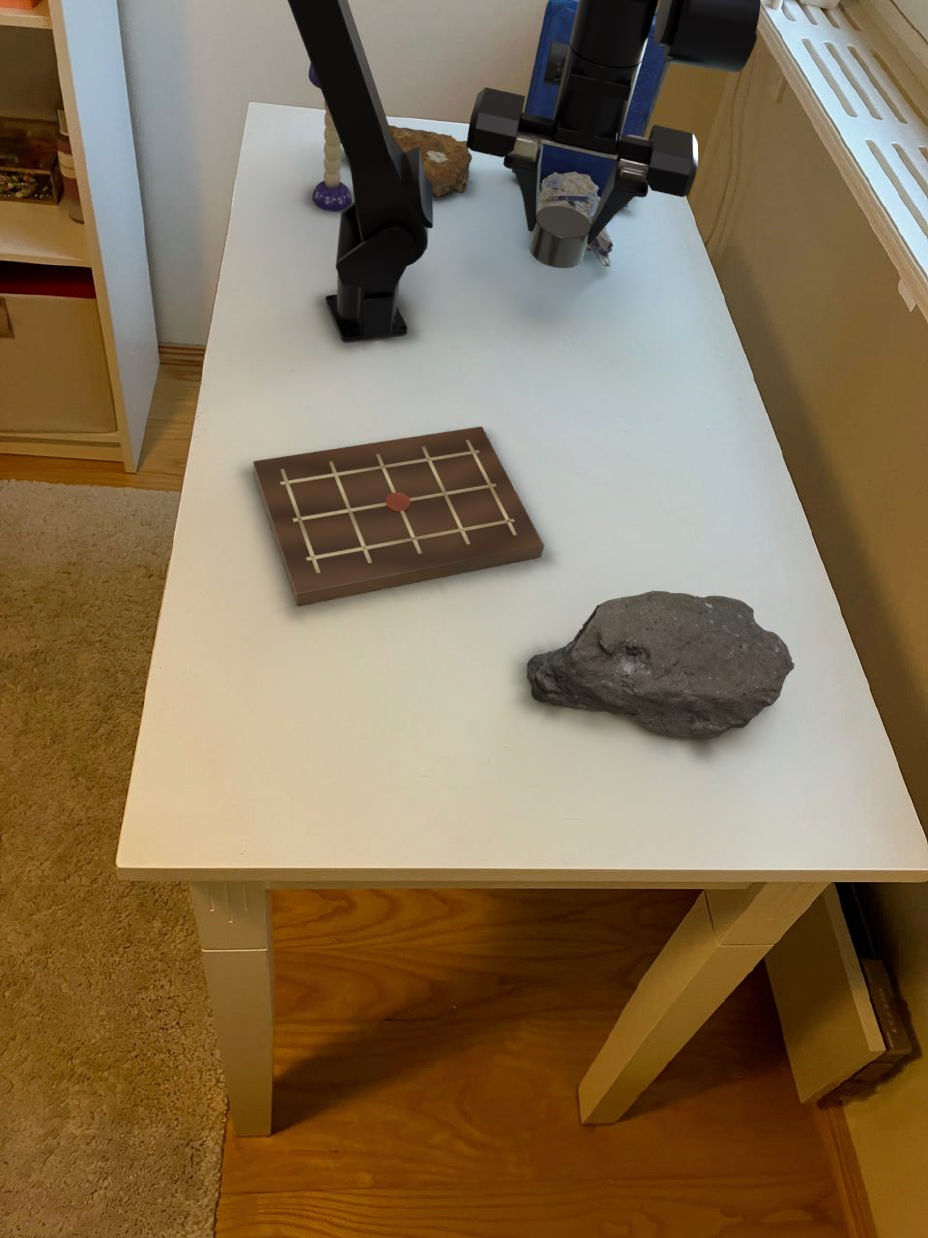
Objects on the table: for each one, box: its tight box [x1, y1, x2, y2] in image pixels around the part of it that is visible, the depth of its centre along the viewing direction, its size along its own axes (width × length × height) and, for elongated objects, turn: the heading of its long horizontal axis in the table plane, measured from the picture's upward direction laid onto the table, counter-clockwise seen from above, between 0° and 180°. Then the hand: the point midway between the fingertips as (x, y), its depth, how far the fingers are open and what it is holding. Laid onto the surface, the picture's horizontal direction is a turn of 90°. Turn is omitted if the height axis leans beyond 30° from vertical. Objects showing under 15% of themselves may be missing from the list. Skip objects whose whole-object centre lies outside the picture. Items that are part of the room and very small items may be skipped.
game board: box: [252, 425, 545, 607], centre depth 77 cm, size 14×20×2 cm
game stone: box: [528, 206, 591, 269], centre depth 85 cm, size 5×5×3 cm
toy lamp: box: [308, 63, 353, 212], centre depth 97 cm, size 5×5×17 cm
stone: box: [526, 590, 795, 740], centre depth 68 cm, size 18×9×10 cm
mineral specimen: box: [537, 172, 614, 268], centre depth 104 cm, size 15×8×4 cm, turn 177°
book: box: [511, 0, 671, 208], centre depth 103 cm, size 14×5×20 cm, turn 75°
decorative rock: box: [340, 124, 473, 198], centre depth 108 cm, size 11×4×15 cm
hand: (560, 235), depth 86 cm, fingers closed on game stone, 5 cm apart
